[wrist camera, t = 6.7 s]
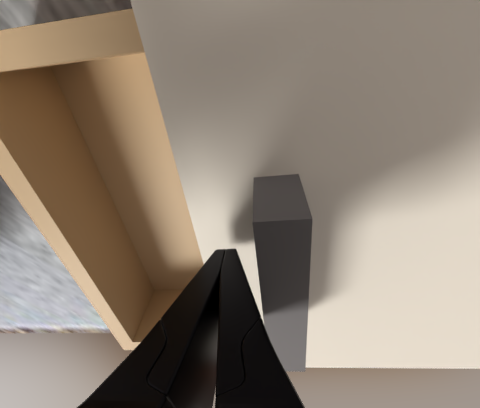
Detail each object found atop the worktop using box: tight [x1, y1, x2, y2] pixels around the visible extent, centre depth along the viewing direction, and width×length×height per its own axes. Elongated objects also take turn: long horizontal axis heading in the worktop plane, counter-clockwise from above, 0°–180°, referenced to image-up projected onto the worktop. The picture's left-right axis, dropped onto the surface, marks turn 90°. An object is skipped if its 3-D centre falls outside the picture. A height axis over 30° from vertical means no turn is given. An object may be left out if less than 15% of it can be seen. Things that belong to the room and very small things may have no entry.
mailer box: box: [0, 9, 204, 350], centre depth 14 cm, size 14×18×5 cm
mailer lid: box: [130, 0, 480, 371], centre depth 9 cm, size 15×19×3 cm
